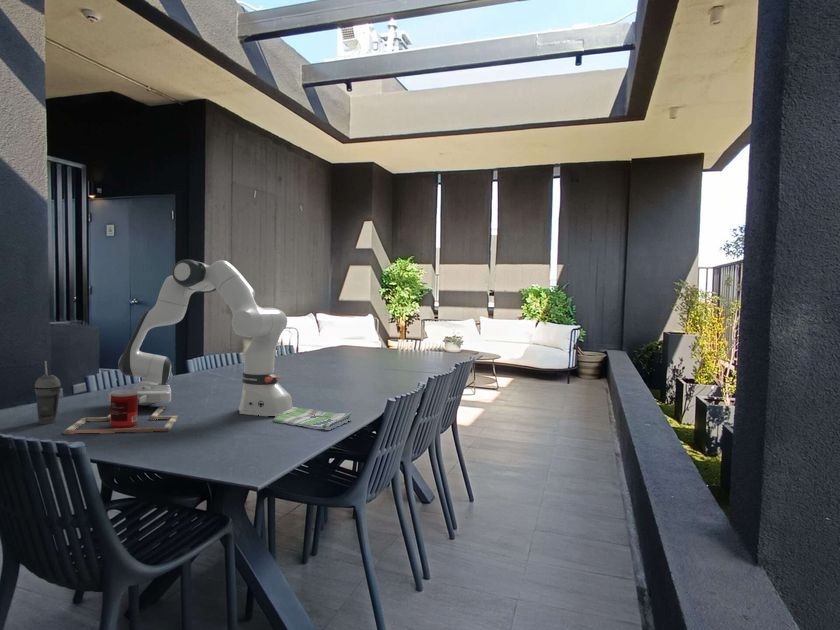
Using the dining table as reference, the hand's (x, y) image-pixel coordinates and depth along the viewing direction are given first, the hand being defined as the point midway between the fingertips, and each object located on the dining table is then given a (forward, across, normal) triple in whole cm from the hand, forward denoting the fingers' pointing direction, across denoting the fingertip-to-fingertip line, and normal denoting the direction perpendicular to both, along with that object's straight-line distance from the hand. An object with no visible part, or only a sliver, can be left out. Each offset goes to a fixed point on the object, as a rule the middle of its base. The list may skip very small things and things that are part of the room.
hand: (136, 400), depth 185 cm
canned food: (+14, 0, +5) cm, 15 cm away
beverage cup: (+7, -24, +5) cm, 26 cm away
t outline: (+7, 0, +5) cm, 9 cm away
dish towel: (+15, +60, +6) cm, 62 cm away
